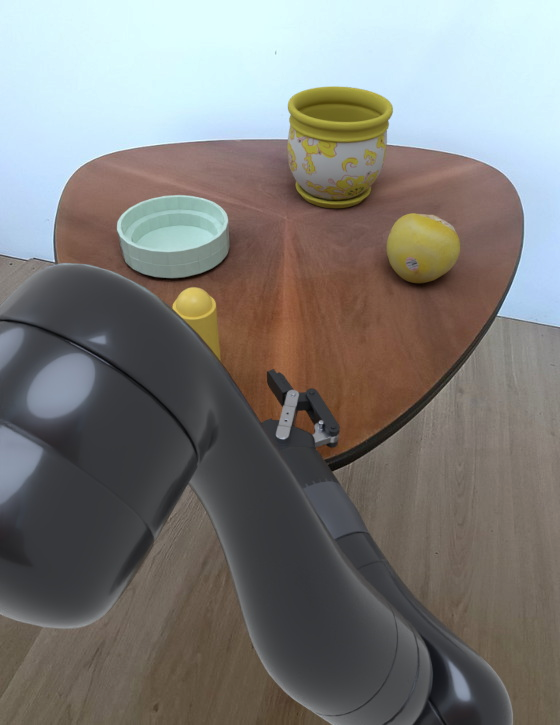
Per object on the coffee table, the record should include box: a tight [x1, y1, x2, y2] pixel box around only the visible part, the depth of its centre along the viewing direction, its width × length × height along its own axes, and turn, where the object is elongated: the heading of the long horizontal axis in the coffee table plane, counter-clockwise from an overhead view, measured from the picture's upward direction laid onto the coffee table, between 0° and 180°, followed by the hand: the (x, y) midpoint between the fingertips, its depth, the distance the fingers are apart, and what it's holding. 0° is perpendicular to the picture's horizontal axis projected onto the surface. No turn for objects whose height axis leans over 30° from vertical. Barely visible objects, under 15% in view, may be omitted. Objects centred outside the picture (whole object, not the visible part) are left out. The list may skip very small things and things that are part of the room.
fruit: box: [386, 212, 461, 284], centre depth 83 cm, size 10×11×10 cm
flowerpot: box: [286, 85, 394, 209], centre depth 100 cm, size 18×18×16 cm
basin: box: [116, 194, 231, 279], centre depth 89 cm, size 17×17×6 cm
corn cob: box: [172, 286, 222, 362], centre depth 65 cm, size 5×5×14 cm
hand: (232, 388), depth 57 cm, fingers open, 8 cm apart
